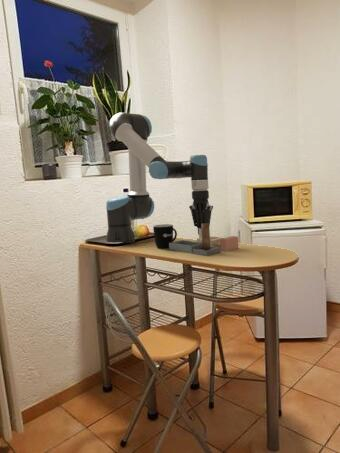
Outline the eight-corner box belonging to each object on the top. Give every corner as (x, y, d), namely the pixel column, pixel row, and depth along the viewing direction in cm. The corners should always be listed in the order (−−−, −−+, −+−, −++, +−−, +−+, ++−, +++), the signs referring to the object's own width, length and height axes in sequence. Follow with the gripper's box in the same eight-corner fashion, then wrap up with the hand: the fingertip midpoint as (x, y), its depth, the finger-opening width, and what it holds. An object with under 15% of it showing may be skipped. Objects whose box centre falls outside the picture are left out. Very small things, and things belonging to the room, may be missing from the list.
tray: (169, 249, 158) (168, 242, 158) (183, 246, 164) (182, 240, 163) (191, 253, 148) (191, 246, 147) (205, 250, 153) (205, 243, 152)
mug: (162, 250, 158) (161, 227, 157) (150, 247, 165) (149, 226, 164) (183, 246, 165) (182, 224, 164) (171, 244, 172) (170, 223, 171)
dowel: (200, 253, 147) (199, 224, 146) (206, 251, 149) (205, 223, 148) (206, 254, 145) (205, 224, 143) (212, 252, 147) (210, 223, 145)
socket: (192, 253, 147) (192, 248, 147) (206, 250, 152) (205, 245, 152) (206, 255, 141) (206, 250, 141) (220, 252, 146) (220, 247, 146)
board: (197, 247, 161) (197, 238, 160) (209, 244, 166) (209, 236, 165) (214, 249, 153) (213, 240, 153) (226, 246, 158) (226, 238, 158)
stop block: (220, 250, 150) (220, 238, 150) (233, 247, 155) (232, 236, 155) (226, 251, 148) (225, 239, 147) (238, 248, 153) (238, 236, 152)
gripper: (184, 190, 163) (186, 242, 166) (204, 190, 153) (207, 244, 156) (195, 189, 168) (198, 239, 171) (216, 189, 158) (218, 242, 161)
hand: (202, 242), depth 164 cm, fingers closed
